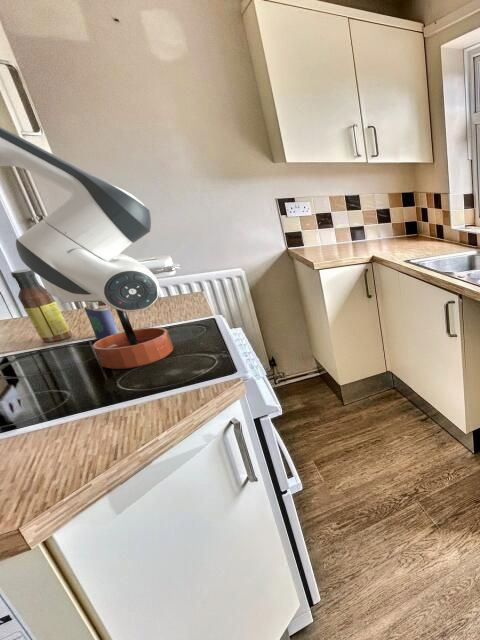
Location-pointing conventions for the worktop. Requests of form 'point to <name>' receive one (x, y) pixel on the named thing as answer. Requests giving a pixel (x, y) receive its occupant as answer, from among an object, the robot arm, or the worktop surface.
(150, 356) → the bowl
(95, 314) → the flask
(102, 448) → the worktop surface
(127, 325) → the black handled tamper
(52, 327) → the sauce bottle
